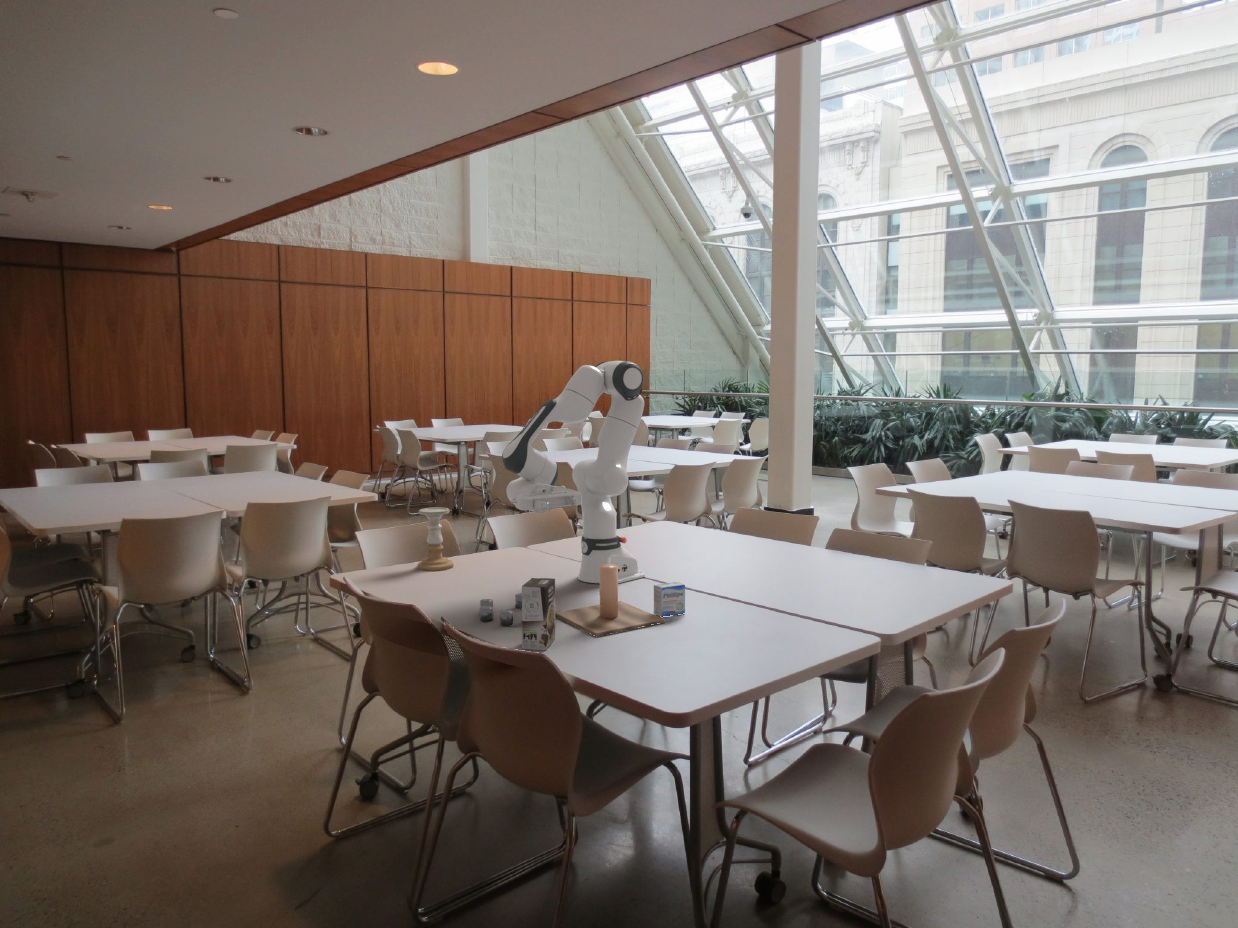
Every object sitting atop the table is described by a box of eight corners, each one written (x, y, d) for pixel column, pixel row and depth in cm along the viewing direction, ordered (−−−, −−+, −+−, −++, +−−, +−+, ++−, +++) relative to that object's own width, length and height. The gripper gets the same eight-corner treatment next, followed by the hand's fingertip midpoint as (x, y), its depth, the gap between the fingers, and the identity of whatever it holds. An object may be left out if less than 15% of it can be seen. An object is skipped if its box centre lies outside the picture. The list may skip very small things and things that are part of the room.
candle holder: (436, 561, 304) (435, 505, 302) (460, 565, 297) (459, 509, 295) (409, 567, 294) (408, 510, 292) (434, 572, 287) (432, 514, 285)
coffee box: (546, 651, 209) (545, 587, 207) (521, 649, 210) (520, 585, 208) (556, 639, 218) (556, 577, 216) (532, 637, 219) (531, 576, 217)
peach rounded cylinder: (611, 612, 238) (611, 563, 236) (621, 616, 234) (621, 566, 232) (596, 615, 235) (596, 565, 234) (606, 619, 231) (606, 569, 229)
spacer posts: (533, 602, 251) (533, 591, 251) (564, 618, 236) (564, 605, 235) (468, 613, 240) (468, 601, 239) (496, 630, 224) (496, 617, 224)
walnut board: (620, 604, 250) (620, 600, 250) (664, 623, 232) (664, 619, 231) (554, 616, 238) (554, 612, 238) (596, 637, 219) (596, 633, 219)
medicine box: (661, 618, 236) (661, 587, 235) (653, 614, 240) (653, 584, 239) (685, 614, 240) (685, 584, 239) (677, 610, 244) (677, 581, 243)
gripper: (507, 490, 250) (529, 496, 239) (567, 485, 261) (591, 490, 250) (507, 511, 251) (529, 518, 240) (567, 505, 262) (591, 511, 251)
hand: (561, 504), depth 245 cm, fingers open, 8 cm apart
